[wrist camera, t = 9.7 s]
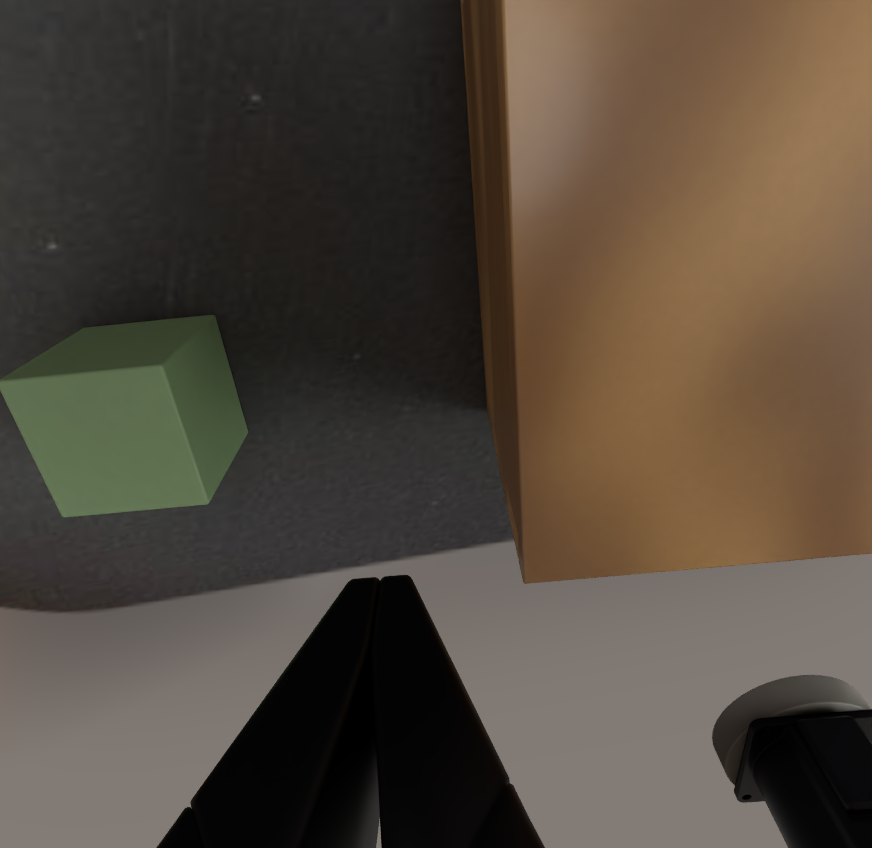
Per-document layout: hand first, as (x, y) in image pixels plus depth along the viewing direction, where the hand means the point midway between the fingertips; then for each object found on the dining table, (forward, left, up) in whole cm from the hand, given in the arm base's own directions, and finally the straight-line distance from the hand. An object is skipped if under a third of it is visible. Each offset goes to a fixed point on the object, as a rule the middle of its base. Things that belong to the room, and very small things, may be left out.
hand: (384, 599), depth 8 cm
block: (-1, +8, -12) cm, 15 cm away
